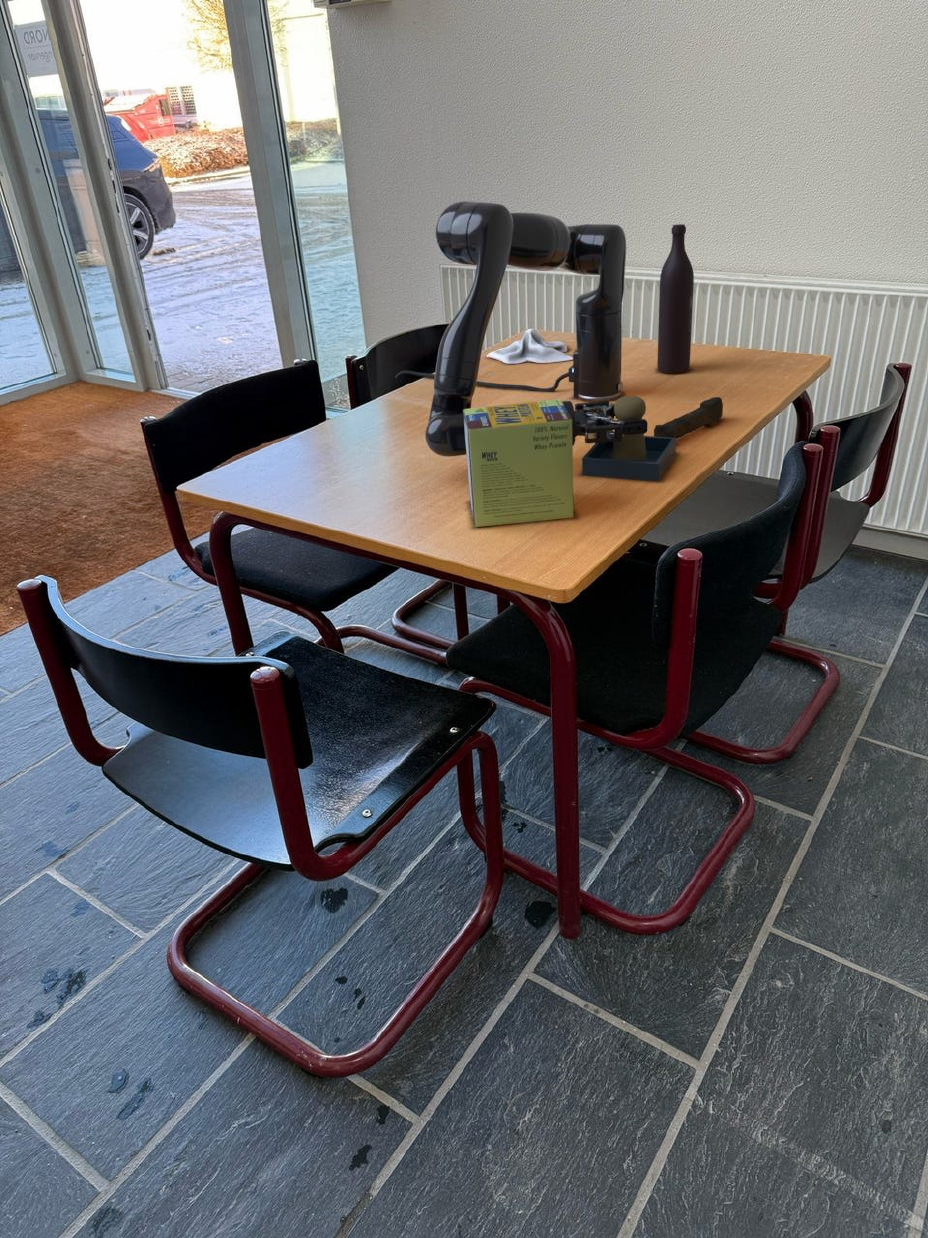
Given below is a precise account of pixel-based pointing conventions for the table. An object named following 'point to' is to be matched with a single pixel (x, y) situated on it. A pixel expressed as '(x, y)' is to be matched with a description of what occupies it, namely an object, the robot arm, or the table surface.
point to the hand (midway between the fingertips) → (642, 417)
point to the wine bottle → (675, 307)
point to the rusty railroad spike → (692, 420)
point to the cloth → (532, 350)
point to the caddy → (652, 470)
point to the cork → (635, 443)
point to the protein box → (519, 462)
